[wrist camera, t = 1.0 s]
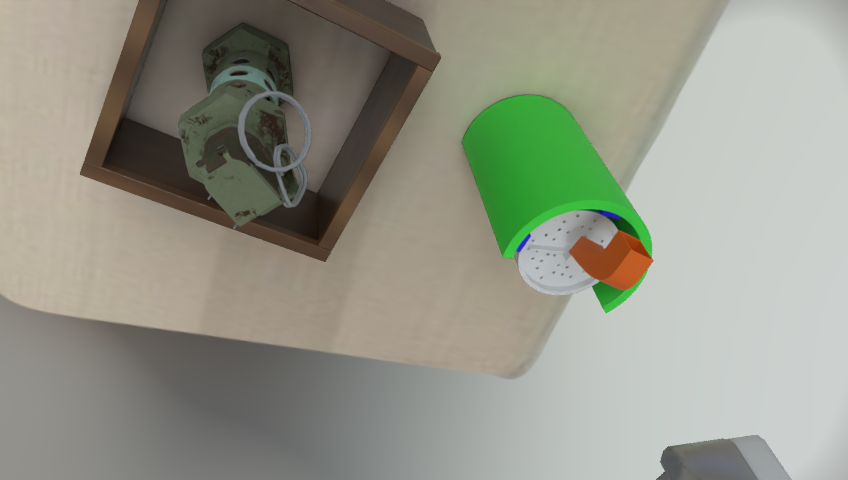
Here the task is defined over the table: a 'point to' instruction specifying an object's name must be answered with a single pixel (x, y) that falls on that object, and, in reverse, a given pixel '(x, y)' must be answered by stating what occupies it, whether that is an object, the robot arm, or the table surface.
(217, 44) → the grenade
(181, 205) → the wooden box
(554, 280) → the green-shelled ribbed roller
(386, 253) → the table surface
